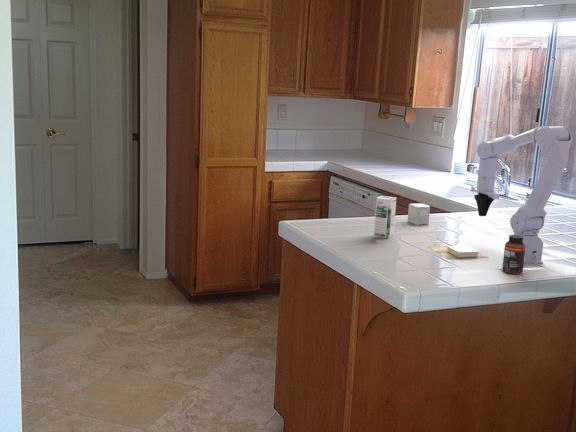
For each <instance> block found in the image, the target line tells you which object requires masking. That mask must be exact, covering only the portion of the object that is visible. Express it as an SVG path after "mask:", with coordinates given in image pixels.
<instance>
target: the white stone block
mask: <svg viewBox="0 0 576 432" xmlns="http://www.w3.org/2000/svg"><path fill="white" fill-rule="evenodd" d="M430 209H431V206H430V205H428V204H425V203H409V204H408V213H407V220H406V221H407V222H408V223H409V224H412V223H413V224H412V225H415V226H422V224H425V225H429V223H430V213H431V212H430ZM419 224H421V225H419Z"/></svg>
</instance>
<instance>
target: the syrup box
mask: <svg viewBox="0 0 576 432" xmlns="http://www.w3.org/2000/svg"><path fill="white" fill-rule="evenodd" d="M396 206H397V197H394V196H388V195H387V196H386V195H379V196H377V197H376V200H375V213H374V227H373V228H374V229H373V238H375V239H376V238H384V239H390V238H393V237H394V234H395V233H394V232H395V219H396V209H397V207H396Z"/></svg>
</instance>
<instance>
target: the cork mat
mask: <svg viewBox="0 0 576 432" xmlns="http://www.w3.org/2000/svg"><path fill="white" fill-rule="evenodd" d="M448 246H449V245H439V246H428V248H429V249H431V250H432V251H434V252H436V253H437V254H439V255H441V256H443V257H444V258H446V259H448V260H470V259H471V260H472V259H473V260H474V259H475V260H476V259H489V257H488V256H486V255H484V254H482V253H480V252H478V255H477V257H471V258H457V257H455V256H453V255H452V254H450V253H448V252H447V247H448ZM460 246H466V245H463V244H461V245H460Z"/></svg>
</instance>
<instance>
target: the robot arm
mask: <svg viewBox="0 0 576 432" xmlns="http://www.w3.org/2000/svg"><path fill="white" fill-rule="evenodd" d="M501 136H502V137H498V138H491V140H490V141H481V142H480V143H479V144H478V146H477V147H476V148H477V149H476V153H477V156H478V157H479V164H478V173H477V174H478V175H477V183H476V185H471V186H470V187H471V189H470V192H472V193H473V192H474V193H477V194H474V195H473V196H474V200H475V201H476V202H475V203H476V206H477V212H478V213H477V214H478V216H479V217H486V216H487V214H488V212H489V209H490V207H491V206H492V203H493V202H494V201H495V200H500V193H499V192H497V191H495V186H496V185H495V183H496V178H497V177H496V175H497V168H498V167H497V165H498V163H499V159H500V157H501V156H505V155H506V154H510V153H513V152H515V151H517V148H518V147H520V146H523V145H526V144H530V143H531V144H532V143H534V144H535V143H536V144H537V146H538V147H539V150H541V152H542V154H543V155H544V156H545V157H546V159H547V160H546V162H545V164H544V166H543V168H542V170H541V173H540V174H539V176H538V179H537V181H536V182H535V184H534V187H533V189H532V191H530V194H529V196H528V199H527V200H526V202H525V203H524V204H523V205H521V206H519V208H518V209H517V210H516V212H515V213H514V214H513V215H511V217H510V220H509V221H510V222H509V224H510V227H511V229H512V233H513V235H520V236H523V241H522V242H523V243H524V244H525V256H524V264H526V263H527V264H529V263H530V264H531V263H532V264H533V263H537V264H543V263H544V261H543V260H542V257H543V249H544V242H543V240H542V238H540V237H539V233H540V230H541V229H543V227H544V226H545V219H546V216H547V212H546V210H545V207H546V205H547V203H548V201H549V199H550V197H551V195H552V194H553V192H554V189H555V187H556V185H557V184H558V182H559V179H560V177H561V176H562V174H563V172H564V169H565V168H566V166H567V164H568V163H569V159H570V158H569V157H570V148H571V147H570V146H571V144H572V143H573V141H574V137H573V135H572V133H571V130H570V129H569V127H567V126H566V125H560V126H547V125H546V126H545V125H543V126H540V127H534V128H532V129H530V130H527V131H525V132H523V133H520V134H518V135H515V136H514V135H512V134H508V133H504V134H502V135H501Z"/></svg>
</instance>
